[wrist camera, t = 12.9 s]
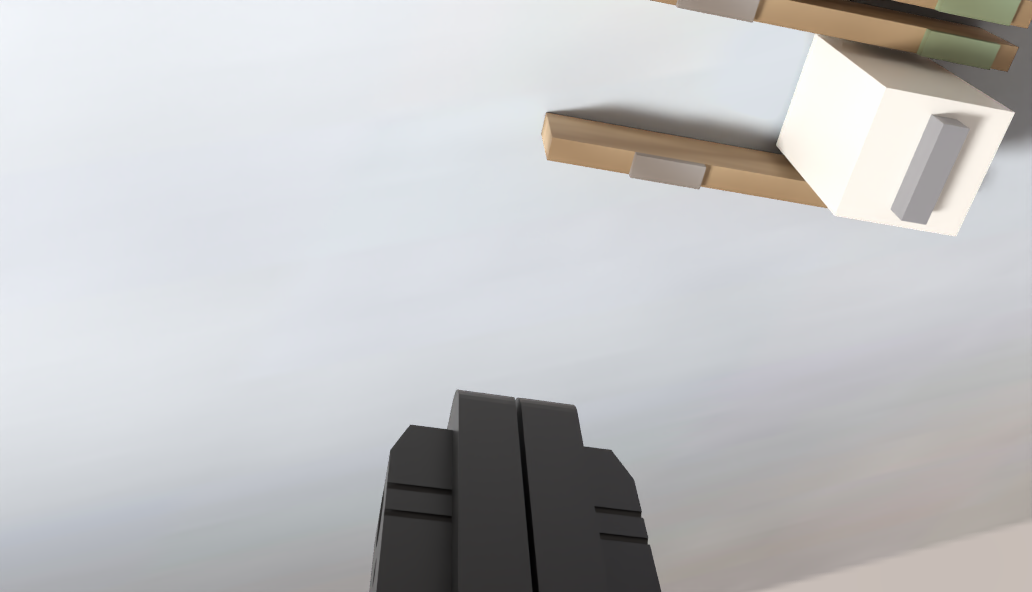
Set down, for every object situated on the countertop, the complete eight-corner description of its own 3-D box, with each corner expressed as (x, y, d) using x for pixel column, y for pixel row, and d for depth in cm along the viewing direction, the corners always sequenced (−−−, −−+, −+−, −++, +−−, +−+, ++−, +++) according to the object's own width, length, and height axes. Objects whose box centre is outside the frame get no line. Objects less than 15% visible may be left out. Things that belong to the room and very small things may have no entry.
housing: (583, -54, 30) (594, -38, 27) (980, 27, 32) (1023, 49, 29) (541, 134, 33) (547, 163, 30) (906, 197, 35) (939, 230, 32)
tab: (815, 33, 31) (898, 96, 25) (924, 55, 32) (1030, 122, 26) (775, 145, 33) (844, 227, 27) (879, 163, 34) (968, 248, 28)
